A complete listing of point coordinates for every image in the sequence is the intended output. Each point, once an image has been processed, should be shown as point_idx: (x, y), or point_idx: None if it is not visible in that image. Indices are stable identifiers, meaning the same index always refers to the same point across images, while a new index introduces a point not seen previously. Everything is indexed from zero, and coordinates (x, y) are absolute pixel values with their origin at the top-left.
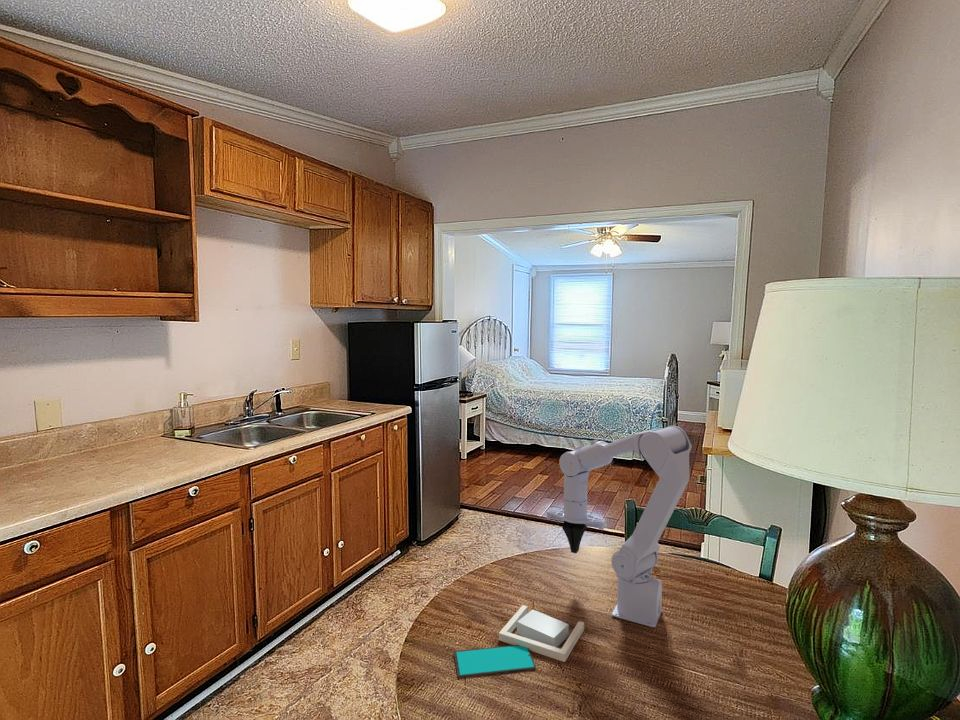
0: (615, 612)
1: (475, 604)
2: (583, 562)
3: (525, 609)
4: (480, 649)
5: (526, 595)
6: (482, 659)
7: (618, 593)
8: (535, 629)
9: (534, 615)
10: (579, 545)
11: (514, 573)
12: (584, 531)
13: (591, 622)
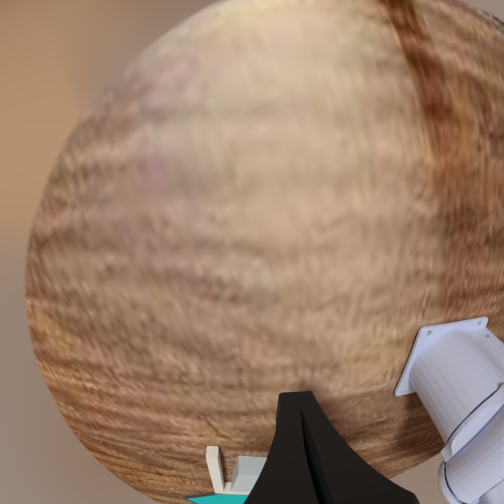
0: (403, 388)
1: (121, 441)
2: (258, 123)
3: (218, 461)
4: (208, 496)
5: (177, 407)
6: (221, 501)
7: (427, 410)
8: None
9: (250, 480)
10: (321, 411)
11: (84, 326)
12: (376, 473)
13: (351, 423)
